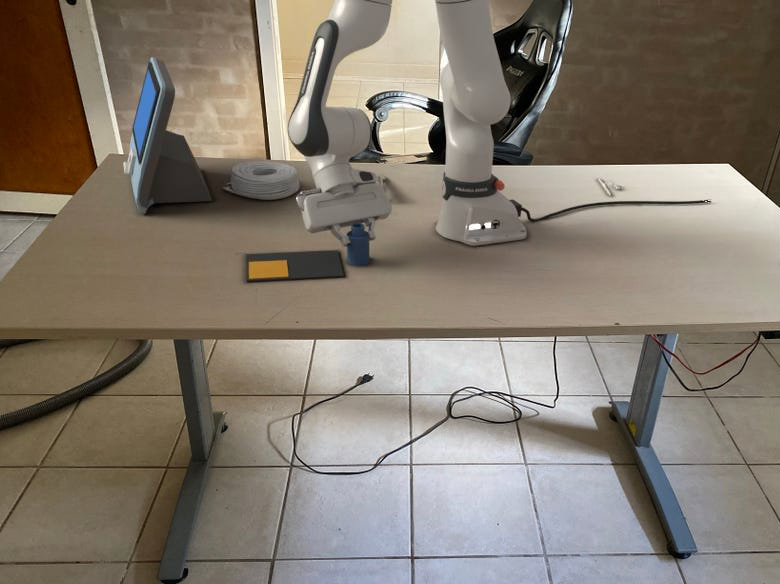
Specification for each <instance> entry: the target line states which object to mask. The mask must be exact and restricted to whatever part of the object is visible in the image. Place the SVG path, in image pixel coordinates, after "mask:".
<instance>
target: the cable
mask: <svg viewBox="0 0 780 584" xmlns="http://www.w3.org/2000/svg"><path fill="white" fill-rule="evenodd" d="M230 177H231V179H230V182H227V183H225V186H222V189H223V190H225V191H226V192H229V193H231V194H235V195H238V196H241V197H245V198H249V199H257V200H264V201H275V200H279V199H280V200H281V199H285V198H287V197H290V196H291V195H294V194H296V192H298V191H299V189H300V182H299V179H298V170H297V169H296V167H295V166H292V165H290V164H287V163H283V162H277V161H245V162H240V163H237V164H235V165H233V166H232V168H231V176H230Z"/></svg>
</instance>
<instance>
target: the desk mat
mask: <svg viewBox="0 0 780 584" xmlns="http://www.w3.org/2000/svg"><path fill="white" fill-rule="evenodd" d="M334 278H335V279H336V278H345V274H344V270H343V266H342V261H341V257H340V253H339V250H338V249H334V250H333V249H332V250H312V251H311V250H309V251H290V252H289V251H288V252H287V251H285V252H267V253H266V252H265V253H264V252H263V253H247V254H246V283H259V282H277V281H278V282H279V281H297V280H298V281H299V280H315V279H318V280H319V279H334Z"/></svg>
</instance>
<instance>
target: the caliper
mask: <svg viewBox="0 0 780 584" xmlns="http://www.w3.org/2000/svg"><path fill="white" fill-rule="evenodd" d="M379 177H380V185H381V186H382V187H383V189H384V191H385V192H386V193H387V178H386V177H385V174H383V173H382V174H381V173H380V176H379Z"/></svg>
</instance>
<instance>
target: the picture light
mask: <svg viewBox="0 0 780 584" xmlns="http://www.w3.org/2000/svg"><path fill="white" fill-rule="evenodd" d="M598 182H599V183H600V185H601V186H602V187H603V188H604V190H605V191H606V194H607V195H608V196H612V192H611V191H610V190H609V189H608V187H607V184H608V183H612V186H613V187H614V188H615V189H616V190H620V189H621V187H617V186H616V185H615V183H616V181H615V182H613V181H612V180H608V181H605V182H603V180H602V178H598ZM605 184H606V185H605Z"/></svg>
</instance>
